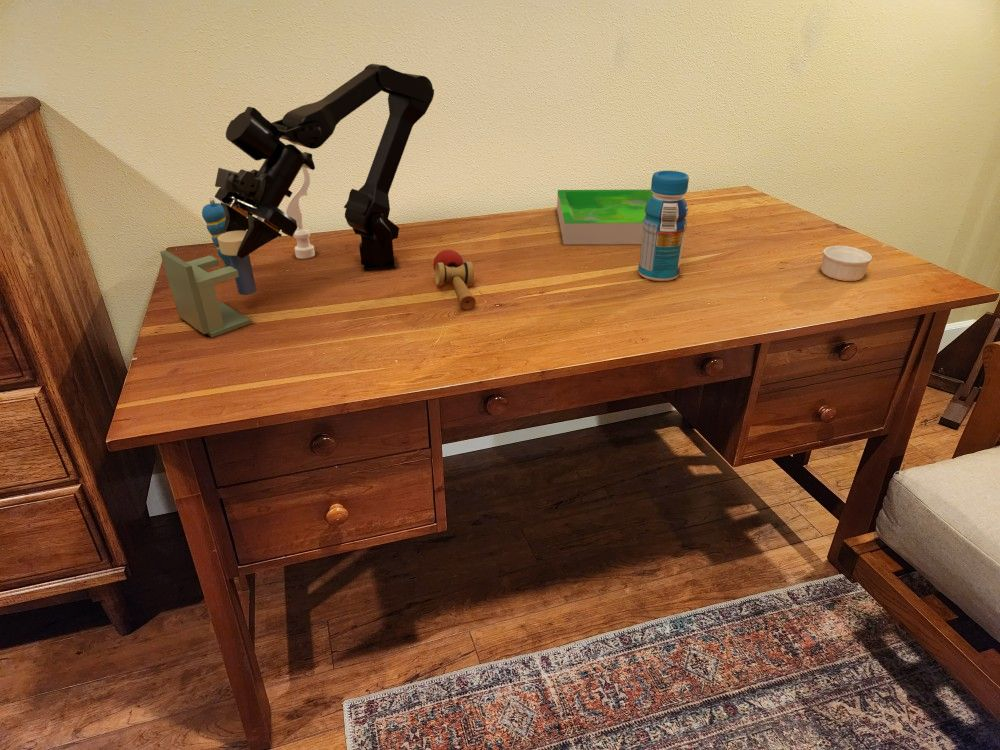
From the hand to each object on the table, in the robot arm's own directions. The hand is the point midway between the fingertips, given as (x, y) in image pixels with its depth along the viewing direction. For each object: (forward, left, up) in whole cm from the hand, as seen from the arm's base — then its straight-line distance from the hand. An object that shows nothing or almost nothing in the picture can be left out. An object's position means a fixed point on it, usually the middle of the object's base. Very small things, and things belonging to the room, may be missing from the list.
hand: (230, 252), depth 117 cm
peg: (-1, -1, -8) cm, 8 cm away
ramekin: (-116, +9, -12) cm, 117 cm away
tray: (-81, -29, -12) cm, 87 cm away
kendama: (-39, 0, -12) cm, 41 cm away
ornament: (+6, -22, -12) cm, 26 cm away
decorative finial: (-10, -26, -12) cm, 30 cm away
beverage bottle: (-80, +1, -12) cm, 81 cm away
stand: (+5, +3, -11) cm, 13 cm away
